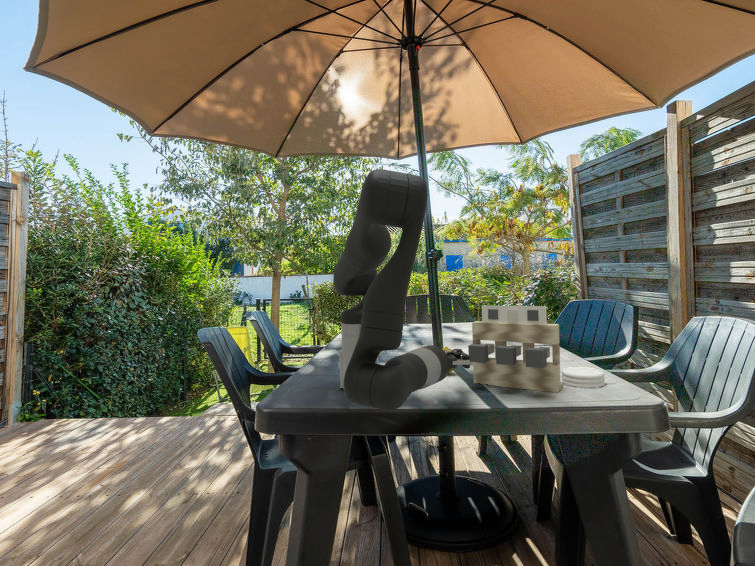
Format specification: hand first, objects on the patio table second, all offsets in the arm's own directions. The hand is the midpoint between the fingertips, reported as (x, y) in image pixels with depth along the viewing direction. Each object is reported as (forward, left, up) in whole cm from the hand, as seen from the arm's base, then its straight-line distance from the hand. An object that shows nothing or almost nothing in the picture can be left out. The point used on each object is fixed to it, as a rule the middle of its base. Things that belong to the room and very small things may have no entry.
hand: (459, 353), depth 103 cm
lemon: (-14, +23, -11) cm, 30 cm away
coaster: (+21, +29, -11) cm, 38 cm away
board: (+7, +20, -11) cm, 24 cm away
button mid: (+7, +16, -4) cm, 18 cm away
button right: (+14, +16, -4) cm, 21 cm away
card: (+7, +18, +5) cm, 20 cm away
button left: (0, +16, -4) cm, 16 cm away
